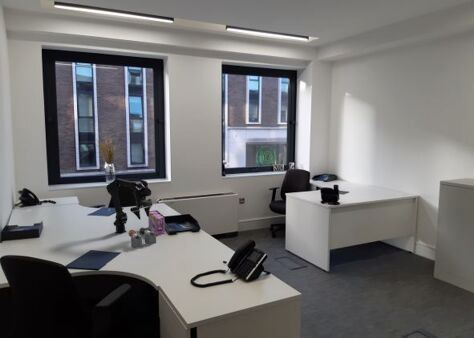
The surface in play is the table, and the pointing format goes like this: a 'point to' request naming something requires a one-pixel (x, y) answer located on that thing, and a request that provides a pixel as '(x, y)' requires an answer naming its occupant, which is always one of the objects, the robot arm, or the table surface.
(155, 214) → the gum box
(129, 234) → the copper plunger
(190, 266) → the table surface
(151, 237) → the grey u-shaped block
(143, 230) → the black plunger
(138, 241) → the bed
